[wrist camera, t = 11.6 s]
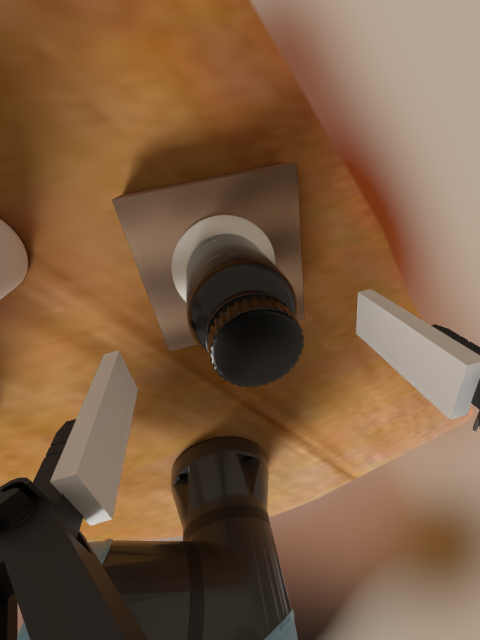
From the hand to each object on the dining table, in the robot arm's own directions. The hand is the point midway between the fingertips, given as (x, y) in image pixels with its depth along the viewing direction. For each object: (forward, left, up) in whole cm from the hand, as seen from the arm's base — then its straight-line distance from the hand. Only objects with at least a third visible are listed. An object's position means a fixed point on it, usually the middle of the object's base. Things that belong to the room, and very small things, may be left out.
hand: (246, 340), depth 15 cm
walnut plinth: (0, 0, -15) cm, 15 cm away
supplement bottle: (0, 0, -11) cm, 11 cm away
